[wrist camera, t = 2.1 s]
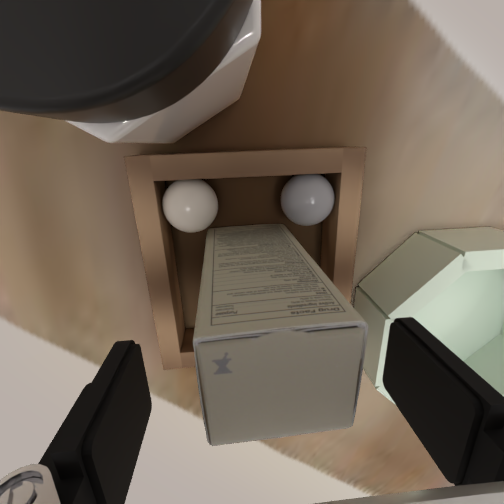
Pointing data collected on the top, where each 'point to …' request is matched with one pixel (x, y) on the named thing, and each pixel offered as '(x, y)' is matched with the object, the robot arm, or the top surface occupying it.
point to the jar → (126, 63)
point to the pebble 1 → (190, 205)
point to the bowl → (440, 298)
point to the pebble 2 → (307, 199)
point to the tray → (229, 166)
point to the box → (273, 339)
